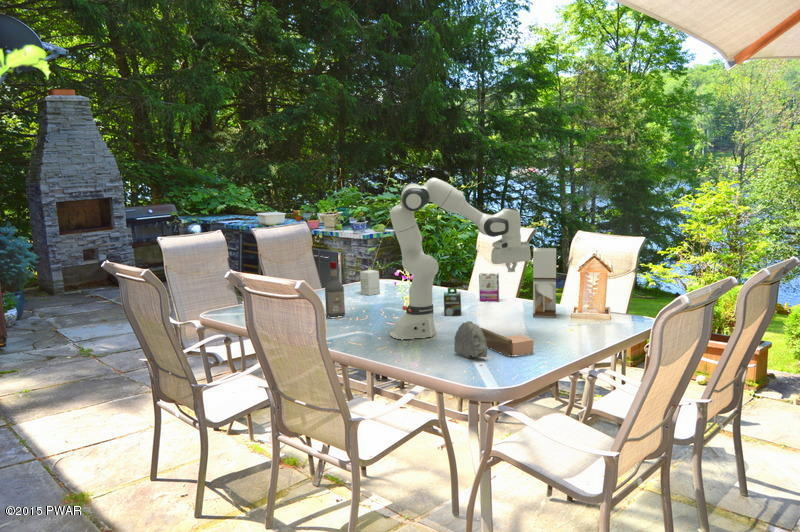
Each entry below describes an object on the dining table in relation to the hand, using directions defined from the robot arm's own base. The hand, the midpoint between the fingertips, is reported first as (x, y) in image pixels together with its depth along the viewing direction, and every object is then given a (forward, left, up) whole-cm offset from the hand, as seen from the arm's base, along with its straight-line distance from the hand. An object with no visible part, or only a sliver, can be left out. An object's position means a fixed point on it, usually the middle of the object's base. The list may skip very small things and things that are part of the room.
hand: (511, 271), depth 295 cm
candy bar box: (+30, +66, -29) cm, 78 cm away
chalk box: (-5, +48, -29) cm, 57 cm away
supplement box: (-22, +125, -29) cm, 130 cm away
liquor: (-62, +77, -29) cm, 103 cm away
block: (-17, -28, -29) cm, 44 cm away
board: (-23, -20, -29) cm, 42 cm away
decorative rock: (-37, -24, -29) cm, 53 cm away
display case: (+34, +19, -29) cm, 49 cm away
